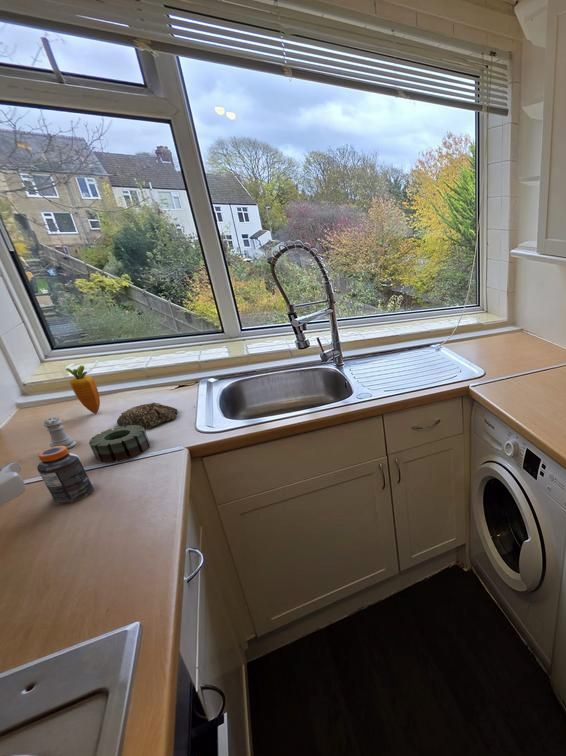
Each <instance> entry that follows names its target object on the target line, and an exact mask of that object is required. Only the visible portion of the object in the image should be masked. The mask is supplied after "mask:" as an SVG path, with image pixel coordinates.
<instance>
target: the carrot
mask: <svg viewBox="0 0 566 756" xmlns="http://www.w3.org/2000/svg"><path fill="white" fill-rule="evenodd" d="M65 370H66V372H69V373H70V374H71V375H72V376H74V377H75V378H73V379H70V381H69V385H70V386H71V389H72V391H73V393H74V395H75V396H76V398H77V400H78V401H79V402H80V403H81V405H83V407H85V409H87V410H88V411H89V412H91V413H92V414H94V415H95V414H98V412H99V409H100V406H101V399H100V393H99V392H100V391H99V390H98V387H97V384H96V381H95V380H94V378H92V377H91V376H88V375H87V374H88V371H86V370H85V365H83V364H82V365H81V364H80V365H79V366H77V368H74V369H71V368H69V367H67V368H66V369H65Z"/></svg>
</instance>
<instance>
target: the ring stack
mask: <svg viewBox="0 0 566 756" xmlns="http://www.w3.org/2000/svg"><path fill="white" fill-rule="evenodd" d="M88 445H89V446H90V449H91V451H92V453H93V455H94V458H95V460H96V461H97V462H99V463H104V464H108V463H109V464H111V463H115V462H117V463H118V462H122V461H125V460H129V458H131V459H133V458H135V457H138V456H139V455H141V454H142V453H145V452H146V451H147V450H148V449H150V447H151V442H150V439H149V437H148V434H147V432H146V428H143V427H142V426H139V425H137V426H136V425H127V426H126V427H124V426H117V427H113V429H111V428H110V429H106V430H104V431H101V432H100V433H96V434H95V435H94V436H92V437H91V438H90V439H89V441H88Z"/></svg>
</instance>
